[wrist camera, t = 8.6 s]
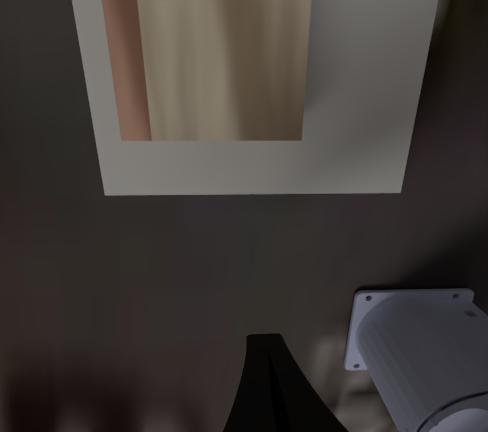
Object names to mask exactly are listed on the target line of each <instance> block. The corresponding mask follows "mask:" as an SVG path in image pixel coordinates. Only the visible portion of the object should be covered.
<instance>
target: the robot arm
mask: <svg viewBox="0 0 488 432" xmlns="http://www.w3.org/2000/svg"><path fill="white" fill-rule="evenodd" d="M369 295H370V296H369ZM453 295H454V296H453ZM367 296H369V297H368V298H366V297H367ZM473 297H474V292H473V291H472V290H470V289H468V288H456V289H408V290H361V291H358V292H357V293H356V294H355V296H354V303H353V309H352V315H351V321H350V328H349V334H348V340H347V346H346V353H345V359H344V366H345V368H346V369H347V370H368V371H369V373H370V375H371V377H372V379H373V381H374V383H375V385H376V387H377V389H378V391H379V393H380V395H381V397H382V399H383V401H384V403H385V405H386V407H387V409H388V411H389V413H390V415H391V417H392V419H393V421H394V422H395V424H396V426H397V428H398V430H399V432H488V315H487V314H486V313H484V312H483V311H482V310H481V309H480V308H478V307H477V306H476V305H475V304H474V303H472V300H473ZM355 364H356V365H355ZM223 432H348V431H347V429H346V428H345V427H344V426H343V425H342V424H341V423H340V422H339V420H338V419H337V418H336V417H335V416H334V414H333V413H332V412H331V411H330V410H329V408H328V407H327V406H326V405H325V403H324V402H323V401H322V399H321V398H320V397H319V395H318V394H317V393H316V391H315V390H314V389H313V387H312V386H311V384H310V383H309V382H308V380H307V379H306V377H305V375H304V374H303V372H302V371H301V369H300V368H299V366H298V365H297V363H296V361H295V360H294V358H293V356H292V355H291V353H290V351H289V349H288V347H287V346H286V344H285V342H284V340H283V337H282V335H280V334H279V333H278V334H251V335H248V336H247V351H246V358H245V363H244V368H243V372H242V377H241V381H240V384H239V388H238V391H237V394H236V397H235V401H234V404H233V407H232V410H231V412H230V415H229V418H228V420H227V423H226V426H225V428H224V430H223Z"/></svg>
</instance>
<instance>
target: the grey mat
mask: <svg viewBox="0 0 488 432" xmlns="http://www.w3.org/2000/svg"><path fill="white" fill-rule="evenodd" d="M72 3H73V9H74V15H75V21H76V27H77V33H78V38H79V44H80V50H81V56H82V62H83V68H84V74H85V80H86V86H87V92H88V98H89V104H90V110H91V115H92V121H93V127H94V133H95V139H96V145H97V151H98V157H99V163H100V169H101V175H102V181H103V187H104V192H105V195H206V194H324V193H401V188H402V183H403V178H404V173H405V168H406V163H407V157H408V152H409V147H410V142H411V137H412V132H413V127H414V122H415V117H416V112H417V106H418V101H419V96H420V91H421V86H422V81H423V76H424V71H425V66H426V60H427V55H428V50H429V45H430V40H431V35H432V30H433V25H434V20H435V14H436V9H437V4H438V0H311V13H310V28H309V42H308V56H307V71H306V85H305V100H304V114H303V128H302V141H121V135H120V128H119V121H118V114H117V107H116V99H115V92H114V85H113V78H112V71H111V63H110V56H109V49H108V42H107V35H106V28H105V20H104V13H103V6H102V0H72Z"/></svg>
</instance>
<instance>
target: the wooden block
mask: <svg viewBox="0 0 488 432" xmlns="http://www.w3.org/2000/svg"><path fill="white" fill-rule="evenodd" d="M102 6H103V13H104V20H105V28H106V35H107V42H108V49H109V56H110V63H111V71H112V78H113V85H114V92H115V99H116V107H117V114H118V121H119V128H120V135H121V141H302V128H303V114H304V100H305V85H306V71H307V56H308V42H309V28H310V13H311V0H102Z"/></svg>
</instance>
